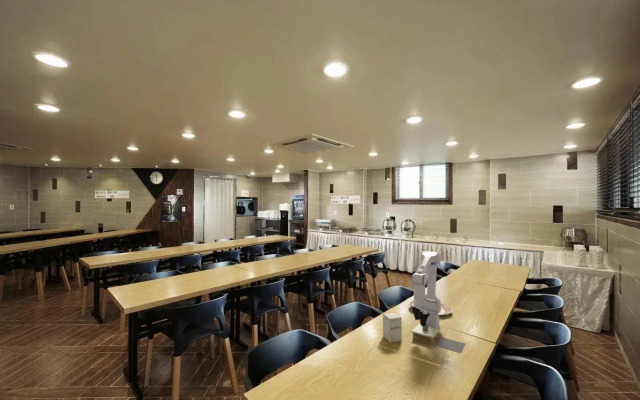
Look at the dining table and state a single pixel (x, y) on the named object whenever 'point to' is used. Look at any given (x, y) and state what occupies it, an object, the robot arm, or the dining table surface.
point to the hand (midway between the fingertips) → (420, 322)
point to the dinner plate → (444, 309)
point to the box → (425, 338)
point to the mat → (450, 344)
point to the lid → (425, 330)
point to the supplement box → (392, 327)
